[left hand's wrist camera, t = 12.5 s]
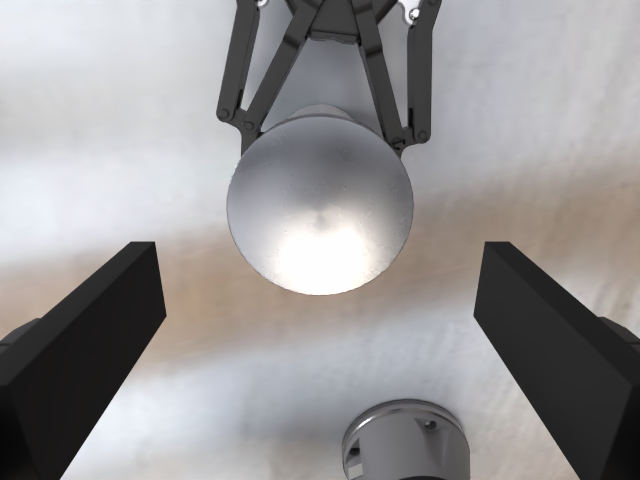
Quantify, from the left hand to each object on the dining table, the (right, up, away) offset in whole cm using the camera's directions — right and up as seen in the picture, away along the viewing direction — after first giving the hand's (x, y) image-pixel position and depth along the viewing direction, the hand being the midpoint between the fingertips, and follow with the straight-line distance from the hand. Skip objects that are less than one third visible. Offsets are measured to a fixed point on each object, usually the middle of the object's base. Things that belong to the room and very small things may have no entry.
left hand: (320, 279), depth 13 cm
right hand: (0, +3, +20) cm, 20 cm away
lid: (0, +3, +7) cm, 8 cm away
